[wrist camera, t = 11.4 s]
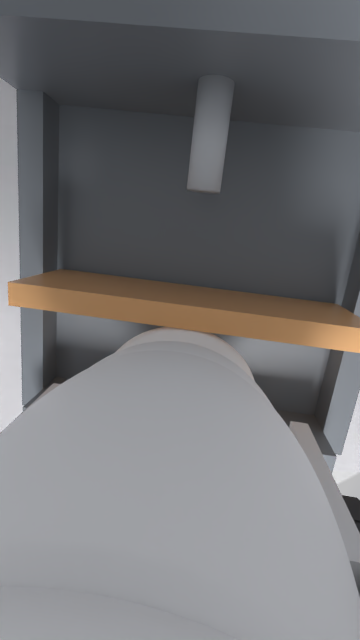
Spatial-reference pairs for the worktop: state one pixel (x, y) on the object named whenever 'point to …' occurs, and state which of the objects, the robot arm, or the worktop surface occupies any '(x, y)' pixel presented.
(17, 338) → the worktop surface
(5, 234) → the worktop surface
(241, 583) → the jar
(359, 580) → the robot arm
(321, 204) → the tray
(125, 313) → the plate
